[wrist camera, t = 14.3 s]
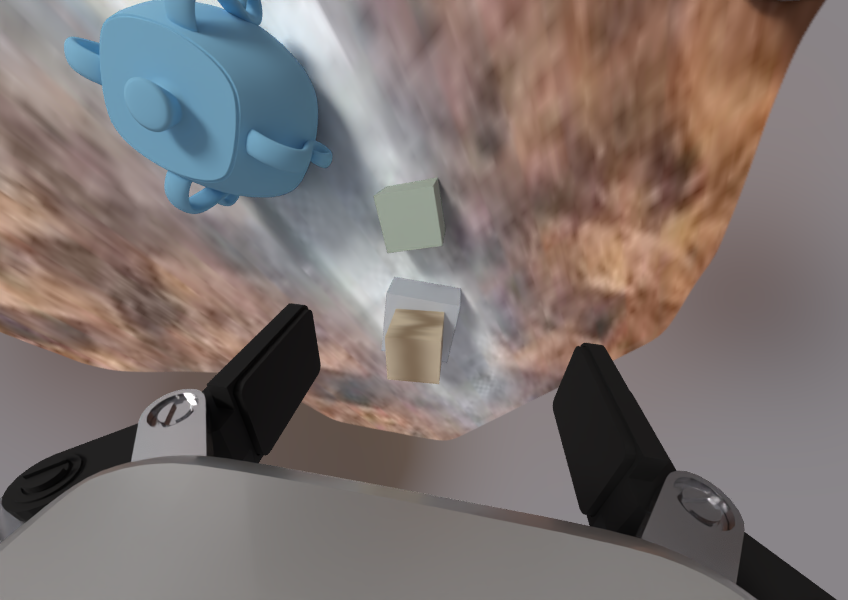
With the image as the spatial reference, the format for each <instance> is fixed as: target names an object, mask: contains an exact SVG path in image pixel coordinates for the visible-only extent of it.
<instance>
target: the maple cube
mask: <svg viewBox="0 0 848 600" xmlns="http://www.w3.org/2000/svg"><path fill="white" fill-rule="evenodd" d="M443 329H444V312H437V311H422V310H408V309H396V310H395V312H394V315H393V317H392V320H391V323H390V325H389V328H388V330H387V333H386V336H385V349H386V363H387V378H388V379H390V380H401V381H411V382H422V383H433V384H439V380H440V370H441V360H442V349H443Z"/></svg>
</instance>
